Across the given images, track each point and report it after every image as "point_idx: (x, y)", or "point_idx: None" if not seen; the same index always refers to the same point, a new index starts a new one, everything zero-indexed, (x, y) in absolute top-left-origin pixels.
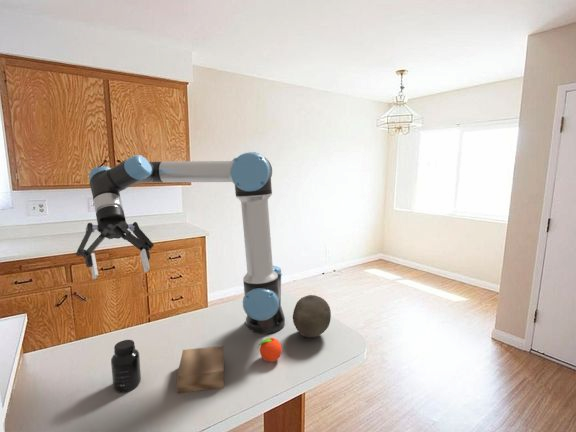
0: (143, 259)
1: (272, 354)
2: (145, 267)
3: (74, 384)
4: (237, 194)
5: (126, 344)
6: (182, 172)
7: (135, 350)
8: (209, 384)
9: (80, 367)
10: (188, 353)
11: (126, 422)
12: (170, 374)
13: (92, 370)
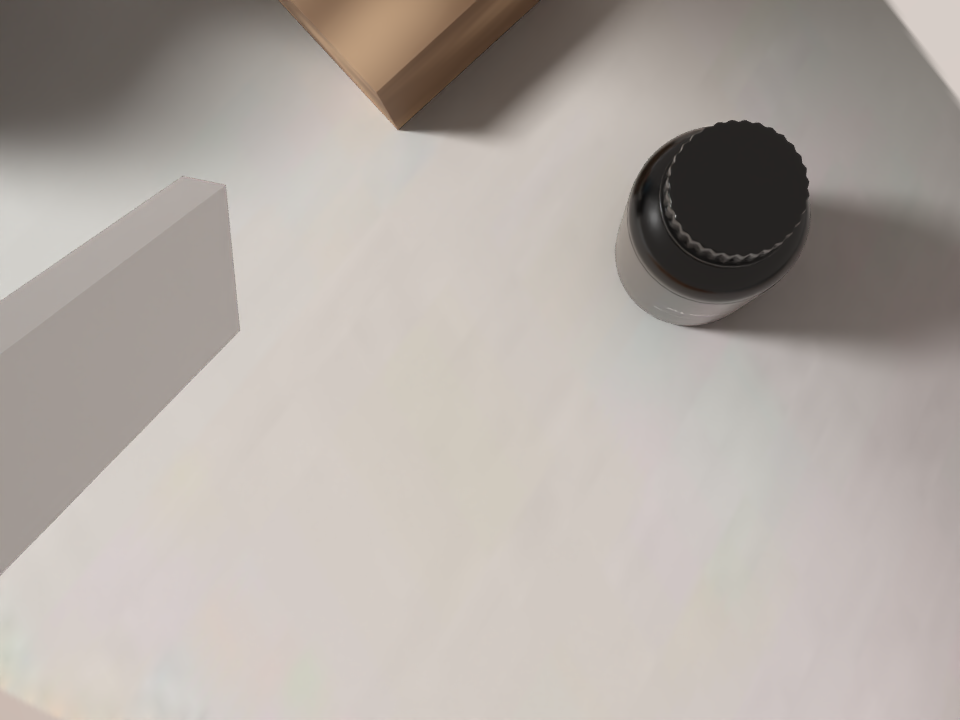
0: (94, 374)
1: None
2: (203, 277)
3: (861, 521)
4: None
5: (730, 171)
6: None
7: (661, 175)
8: None
9: (759, 664)
10: (386, 27)
11: (851, 2)
12: (497, 123)
13: (732, 563)
